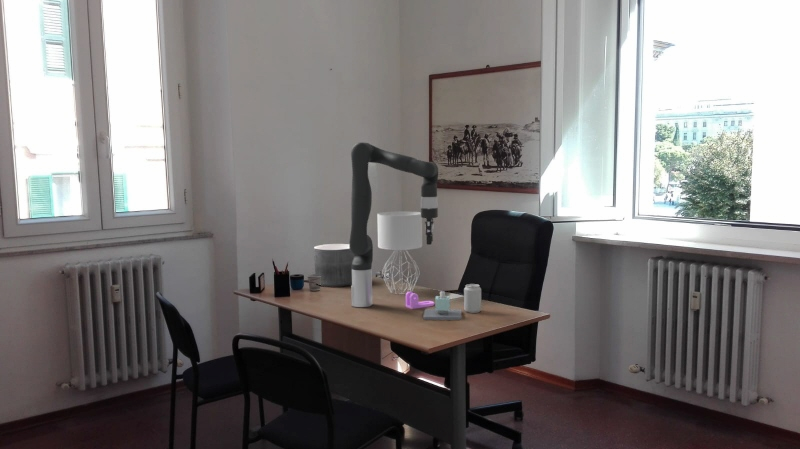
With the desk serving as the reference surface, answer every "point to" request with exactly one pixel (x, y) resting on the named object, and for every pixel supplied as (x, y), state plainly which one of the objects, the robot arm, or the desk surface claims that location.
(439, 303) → the collar
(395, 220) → the table lamp
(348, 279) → the planter
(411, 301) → the bracket
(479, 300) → the can
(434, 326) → the desk surface
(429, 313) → the post block
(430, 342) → the desk surface
